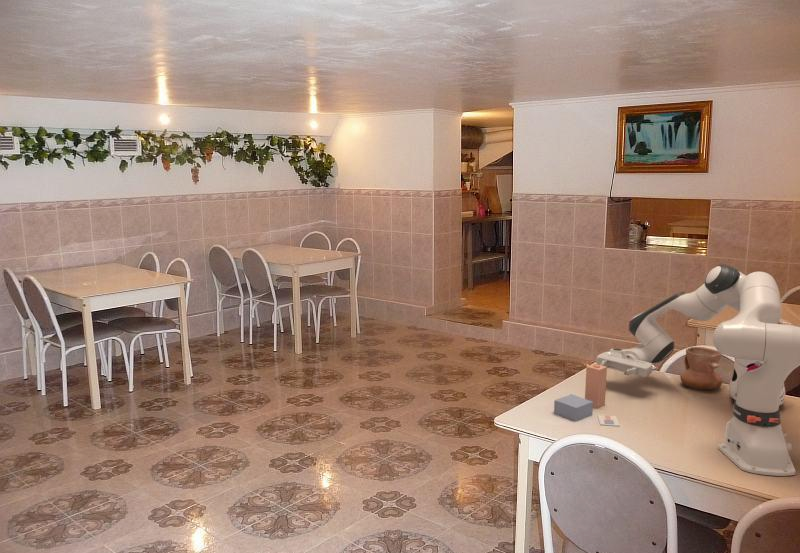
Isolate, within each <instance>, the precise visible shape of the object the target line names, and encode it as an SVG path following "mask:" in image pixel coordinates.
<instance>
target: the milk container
mask: <svg viewBox="0 0 800 553" xmlns="http://www.w3.org/2000/svg"><path fill="white" fill-rule="evenodd" d="M756 361H758V360H748V359H739V358H734V362H733V373H732V377H731V380H730V381H729V387H728V390H729V395H730V398H731V399H732V400H733V401H734V402H735V401H736V394H737V383H738V379H739V377H740V376H741V375H742V374H744V373H745V372H747V369H748V368H749V367H750V366H753V365H755V362H756ZM759 362H760V363H761V365H762V364H763V363H764V361H759ZM761 365H760V366H761ZM785 397H786V387H785V382H784V383H783V386H782V390H781V395H780V401H779V407H780V406H782V404H784V401H785Z"/></svg>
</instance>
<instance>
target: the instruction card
mask: <svg viewBox="0 0 800 553" xmlns="http://www.w3.org/2000/svg"><path fill="white" fill-rule="evenodd" d="M597 418H598V422H599V425H600V426H608V427H609V426H610V427H620V426H621V425H620V423H619V422H620V421H619V419H618V416H617V415H607V414H606V415H605V414H597Z"/></svg>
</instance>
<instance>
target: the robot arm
mask: <svg viewBox="0 0 800 553" xmlns="http://www.w3.org/2000/svg"><path fill="white" fill-rule="evenodd" d="M728 307H730V308H731V309H733V310H736V311H737V312H738V314H737V315H735V316H734V317H732V318H731V319H728V320H724V321H722V322H720V323H719V324H718V325H717V327H716V328H715V329H714V332H713V334H712V340H713V345H714V347H715V350H717V351H718V352H719V353H720V354H721V355H724V356H727V357H731V358H734V359H735V358H739V359H748V360H758V361H764V363H763V364H762V365H761V366H760V367H759V368H757V369H754V370H751V371H748V372H745V373H744V374H742V375H741V376H740V377H739V379H738V383H737V394H736V401H735V400H734V402H733V407H732V414H733V416H732V417H731V419H729V420H728V421H727V422H726V424H725V425H726V427H725V431H724V437H723V438H724V439H723V442H721V443H719V444H718V446H717V449H718V450H719V451H720V452H722V453H723V455H725V456H726V457H727V458H728V459H729V460H731V461H732V463H734V464H735V466H737V467H738V468H739V469H741V470H742V471H744V472H748V473H752V474H756V475H757V474H758V475H764V476H778V477H779V476H780V477H789V476H793V475H796V469H795V466H794V464H793V462H792V459H791V456H790V453H789V452H791V451H792V448H793V447H792V443H791V442H786V439H787V433H784V431H783V428H782V425H781V417H782V416H781V408H780V406H779V401H780V395H781V390H782V386H783V383H784V384H785V381H786V379H787V378H788V377H789V375H790V374H791V373H792V372H793V371H794V370H795V369H797V368H798V367H799V366H800V326H797V325H796V326H795V325H793V324H783V323H779V322H780V321H781V320H782V316H783V310H782V301H781V294H780V289H779V287H778V284H777V282H776V280H775V278H774V277H773V276H772V275H771V274H769V273H768V272H765V271H753V272H751V273H748V274H747V275H746V274H744V273H743V272H741V271H739V270H738V269H737V268H735V267H733V266H731V265H728V264H724V263H722V264H717V265H715V266H714V267H713V268H711V269H710V270H709V272H708V273H707V274H706V276H705V279H704V283H703V284H702V285H701V286H700V287H698V288H697V289H695V290H694V291H692V292H689V293H688V292H687V293H686V292H684V291H681V292H677V293H676V294H673V295H671V296H670V297H668V298H666V299H664V300H662V301H661V302H659V303H658V304H655V305H654V306H652V307H651V308H649V309H647V310H645V311H643V312H641V313H639V314H636V315H634V316H633V317H632V318H631V319H630V320H629V321H628V322H629V323H628V331H629V332H630V333H631V334H632V335H633V336H634V337H635V338H636V339H637V341H638V342H639V343H640V344H638V345H635V346H634V347H632V348H624V349H622V348H621V349H620V348H611V349H609V351H604V352H602V353H600V354H598V355H596V362H595V364H598V365H602V366H606V367H607V369H610V370H614V371H619V372H622V373H623V375H624V376H625V375H626V376H630V375H634V376H639V377H642V378H647V377H649V376H651V375H652V373H653V371H656V370H657V368H658V367H657V366H655V365H654V364H658V363H660V362H662V361H664V360H665V359H667V358H668V357H670V355H672V353H673V352H674V348H675V341H674V340H673V339H672V337H671V336H670V335H669V333H667V332H666V331H665V330H664V328H663V327H662V326H661V325H660V324H659V323H658V321H657V318H658V317H660V316H662V315H663V314H665V313H667V312H669V311H671V310H672V311H676V312H678V313H681V314H683V315H684V316H686V317H688V318H689V319H692V320H694V321H699V322H707V321H710V320H712V319H714V318H715V317H717V316H718V315H719V314H721V313H722V312H724V310H725V309H726V308H728Z"/></svg>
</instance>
